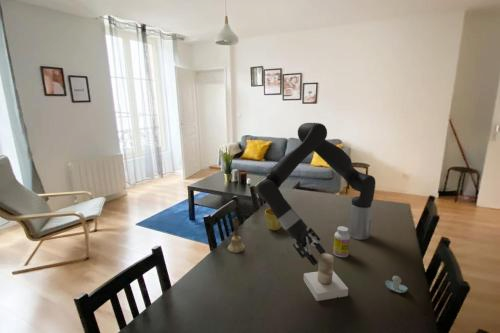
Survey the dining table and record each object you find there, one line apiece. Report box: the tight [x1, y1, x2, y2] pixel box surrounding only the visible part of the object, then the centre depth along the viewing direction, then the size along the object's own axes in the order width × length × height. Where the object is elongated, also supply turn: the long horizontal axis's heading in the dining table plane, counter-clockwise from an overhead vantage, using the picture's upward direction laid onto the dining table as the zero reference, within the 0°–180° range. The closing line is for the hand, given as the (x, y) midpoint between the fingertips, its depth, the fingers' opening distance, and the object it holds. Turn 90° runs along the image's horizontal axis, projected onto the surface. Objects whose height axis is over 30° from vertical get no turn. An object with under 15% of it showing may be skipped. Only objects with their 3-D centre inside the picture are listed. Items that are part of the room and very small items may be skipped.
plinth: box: [303, 270, 349, 302], centre depth 105 cm, size 12×12×3 cm
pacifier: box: [384, 275, 408, 294], centre depth 104 cm, size 7×6×6 cm
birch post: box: [317, 252, 335, 285], centre depth 104 cm, size 5×5×10 cm
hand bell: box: [227, 216, 246, 254], centre depth 132 cm, size 8×8×16 cm
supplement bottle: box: [332, 225, 351, 258], centre depth 127 cm, size 7×7×13 cm
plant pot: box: [264, 208, 282, 231], centre depth 154 cm, size 10×10×10 cm
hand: (319, 258), depth 104 cm, fingers open, 8 cm apart
